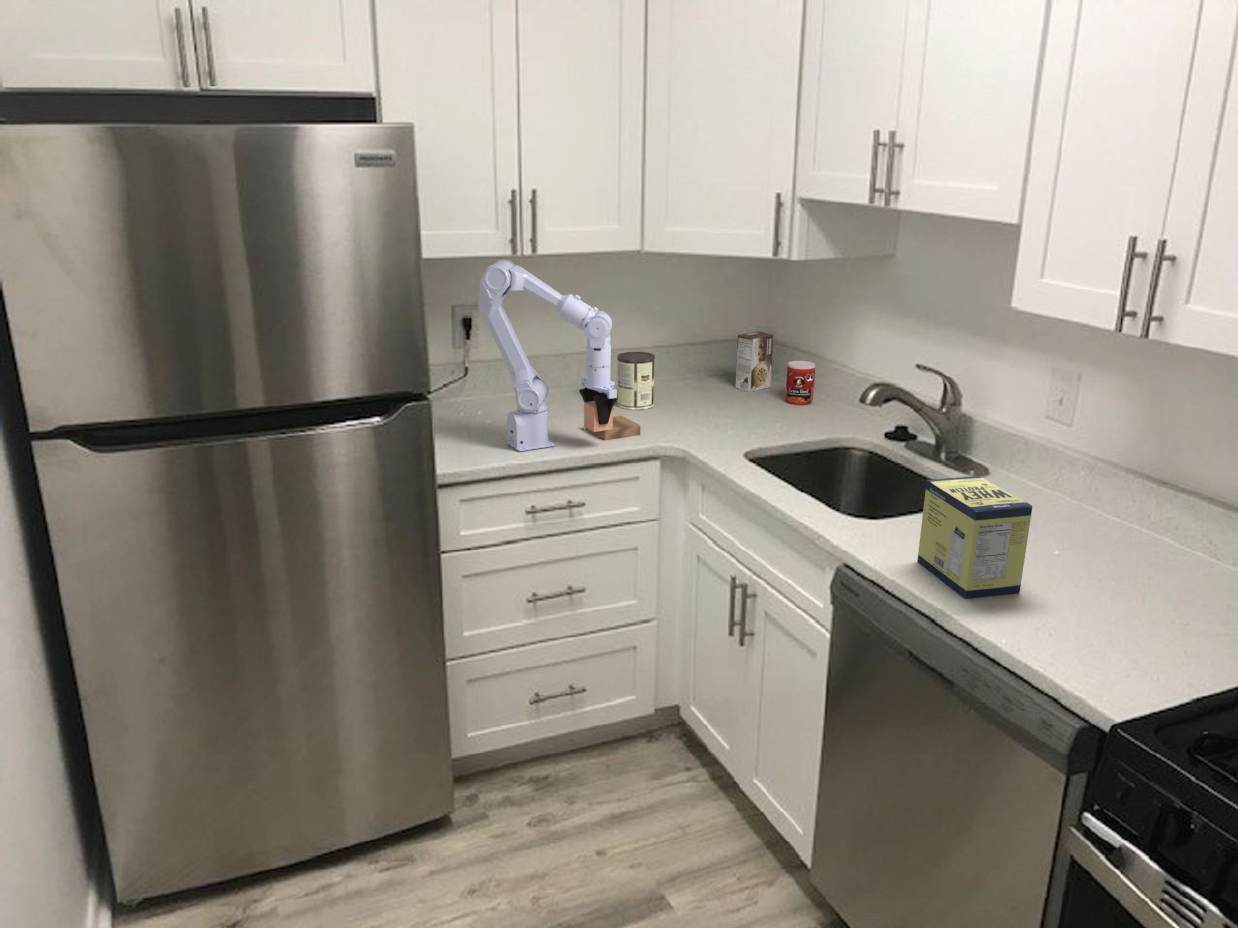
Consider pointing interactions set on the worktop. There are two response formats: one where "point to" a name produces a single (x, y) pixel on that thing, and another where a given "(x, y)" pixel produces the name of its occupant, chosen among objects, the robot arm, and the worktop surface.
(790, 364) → the canned food
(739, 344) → the brown white food box
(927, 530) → the protein box
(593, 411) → the terracotta block
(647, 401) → the coffee can
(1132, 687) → the worktop surface
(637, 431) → the walnut base
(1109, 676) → the worktop surface
